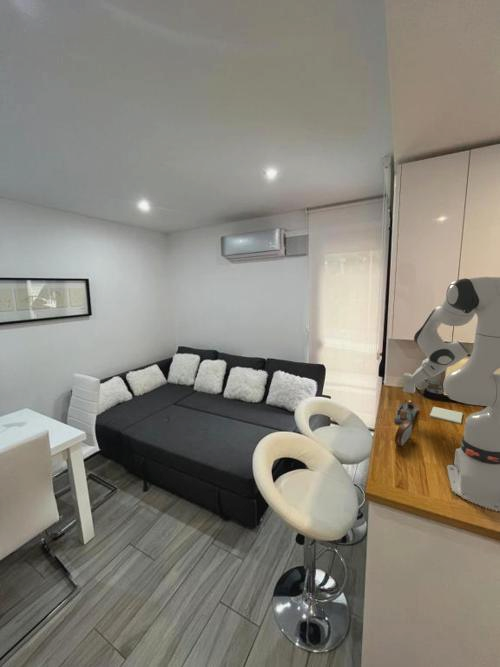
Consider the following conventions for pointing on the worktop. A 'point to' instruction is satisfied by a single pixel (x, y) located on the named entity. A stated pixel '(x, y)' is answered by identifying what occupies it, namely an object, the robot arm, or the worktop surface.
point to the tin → (403, 433)
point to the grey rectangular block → (408, 387)
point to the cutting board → (446, 415)
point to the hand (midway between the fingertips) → (408, 381)
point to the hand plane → (406, 412)
